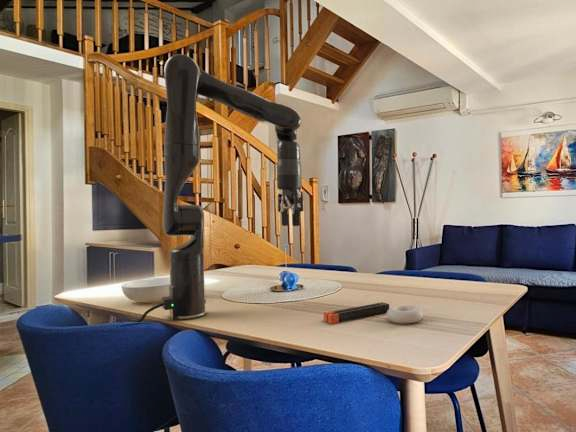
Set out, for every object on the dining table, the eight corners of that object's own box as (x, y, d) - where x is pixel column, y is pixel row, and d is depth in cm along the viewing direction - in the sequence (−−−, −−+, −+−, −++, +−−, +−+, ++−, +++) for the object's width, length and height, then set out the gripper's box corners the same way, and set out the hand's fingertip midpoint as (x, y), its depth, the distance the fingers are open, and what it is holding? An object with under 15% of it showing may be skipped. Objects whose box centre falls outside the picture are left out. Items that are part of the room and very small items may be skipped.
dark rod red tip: (381, 309, 127) (381, 301, 127) (390, 312, 124) (390, 304, 124) (323, 321, 116) (323, 312, 116) (331, 324, 112) (330, 315, 112)
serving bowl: (149, 294, 161) (149, 276, 161) (200, 294, 158) (200, 276, 158) (106, 306, 140) (106, 286, 140) (164, 307, 137) (163, 286, 137)
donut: (418, 326, 108) (426, 316, 118) (417, 313, 108) (426, 304, 118) (381, 324, 112) (393, 314, 121) (381, 311, 111) (392, 302, 121)
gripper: (310, 172, 127) (311, 225, 128) (291, 176, 139) (292, 225, 139) (287, 171, 123) (288, 226, 123) (269, 175, 135) (270, 226, 135)
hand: (290, 225), depth 131 cm, fingers open, 8 cm apart
